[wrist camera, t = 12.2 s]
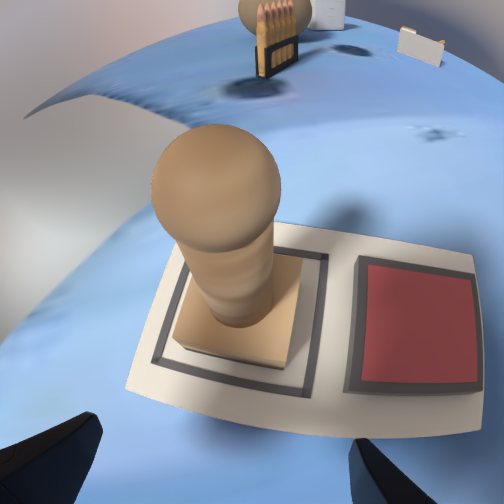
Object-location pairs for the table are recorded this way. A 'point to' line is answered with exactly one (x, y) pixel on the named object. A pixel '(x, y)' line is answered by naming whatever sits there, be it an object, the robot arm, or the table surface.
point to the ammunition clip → (275, 38)
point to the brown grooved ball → (251, 3)
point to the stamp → (228, 245)
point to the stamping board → (299, 352)
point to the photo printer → (327, 15)
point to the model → (420, 47)
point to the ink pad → (413, 331)
